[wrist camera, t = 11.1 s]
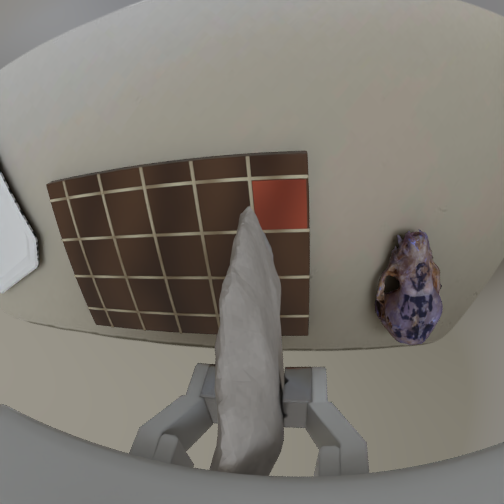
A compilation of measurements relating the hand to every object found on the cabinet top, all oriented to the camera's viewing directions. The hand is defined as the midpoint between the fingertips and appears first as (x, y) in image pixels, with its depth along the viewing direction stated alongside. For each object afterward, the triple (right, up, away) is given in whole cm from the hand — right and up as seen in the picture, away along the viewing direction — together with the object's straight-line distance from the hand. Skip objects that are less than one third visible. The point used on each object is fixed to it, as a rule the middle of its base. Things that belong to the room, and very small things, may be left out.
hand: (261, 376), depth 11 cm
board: (-9, +4, +21) cm, 23 cm away
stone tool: (-1, +4, +8) cm, 9 cm away
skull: (+16, +2, +19) cm, 25 cm away
